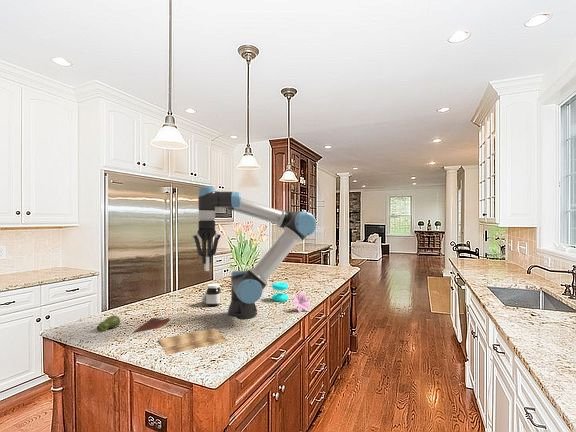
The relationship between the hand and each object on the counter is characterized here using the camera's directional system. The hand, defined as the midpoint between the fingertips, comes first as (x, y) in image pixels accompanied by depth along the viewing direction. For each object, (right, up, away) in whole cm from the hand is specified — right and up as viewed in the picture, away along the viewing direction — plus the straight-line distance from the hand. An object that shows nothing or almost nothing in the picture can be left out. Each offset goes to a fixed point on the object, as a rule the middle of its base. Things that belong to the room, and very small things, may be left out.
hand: (206, 270), depth 151 cm
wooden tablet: (-26, -27, -2) cm, 38 cm away
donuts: (+33, -26, +48) cm, 64 cm away
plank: (-3, -26, -16) cm, 31 cm away
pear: (-45, -27, -2) cm, 52 cm away
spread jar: (-7, -26, +39) cm, 47 cm away
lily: (+45, -27, +27) cm, 59 cm away
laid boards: (+2, -27, -22) cm, 35 cm away
